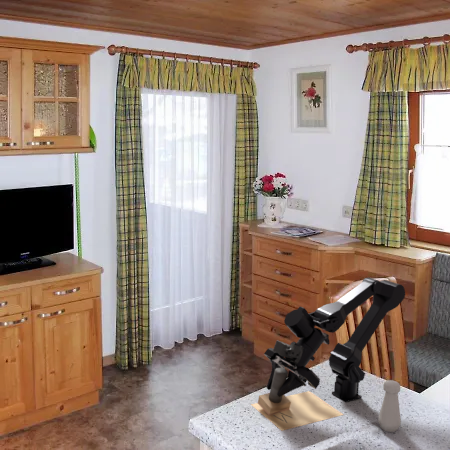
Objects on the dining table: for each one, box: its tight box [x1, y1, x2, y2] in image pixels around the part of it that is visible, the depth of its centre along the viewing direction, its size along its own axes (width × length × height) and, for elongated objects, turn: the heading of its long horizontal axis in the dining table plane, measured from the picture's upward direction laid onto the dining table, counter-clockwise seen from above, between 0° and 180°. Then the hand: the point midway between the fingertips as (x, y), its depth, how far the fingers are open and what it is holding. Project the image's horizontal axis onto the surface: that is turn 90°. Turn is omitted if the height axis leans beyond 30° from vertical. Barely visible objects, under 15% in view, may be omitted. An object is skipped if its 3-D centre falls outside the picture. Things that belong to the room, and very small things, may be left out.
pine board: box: [250, 391, 345, 432], centre depth 161 cm, size 20×16×2 cm
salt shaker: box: [378, 379, 402, 433], centre depth 153 cm, size 6×6×13 cm
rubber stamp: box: [257, 368, 291, 415], centre depth 159 cm, size 7×6×12 cm
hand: (272, 392), depth 158 cm, fingers closed on rubber stamp, 4 cm apart
